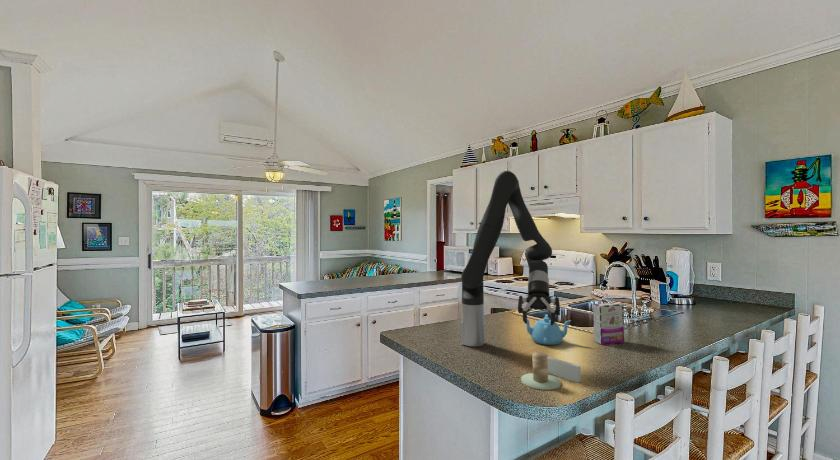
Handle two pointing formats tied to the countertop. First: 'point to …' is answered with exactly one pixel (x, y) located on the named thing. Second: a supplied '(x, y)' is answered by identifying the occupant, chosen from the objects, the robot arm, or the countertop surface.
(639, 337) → the countertop surface
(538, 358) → the beech cylinder
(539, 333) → the teapot
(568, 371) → the frosted wall
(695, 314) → the countertop surface
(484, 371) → the countertop surface
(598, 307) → the candy bar box
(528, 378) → the sage mat
